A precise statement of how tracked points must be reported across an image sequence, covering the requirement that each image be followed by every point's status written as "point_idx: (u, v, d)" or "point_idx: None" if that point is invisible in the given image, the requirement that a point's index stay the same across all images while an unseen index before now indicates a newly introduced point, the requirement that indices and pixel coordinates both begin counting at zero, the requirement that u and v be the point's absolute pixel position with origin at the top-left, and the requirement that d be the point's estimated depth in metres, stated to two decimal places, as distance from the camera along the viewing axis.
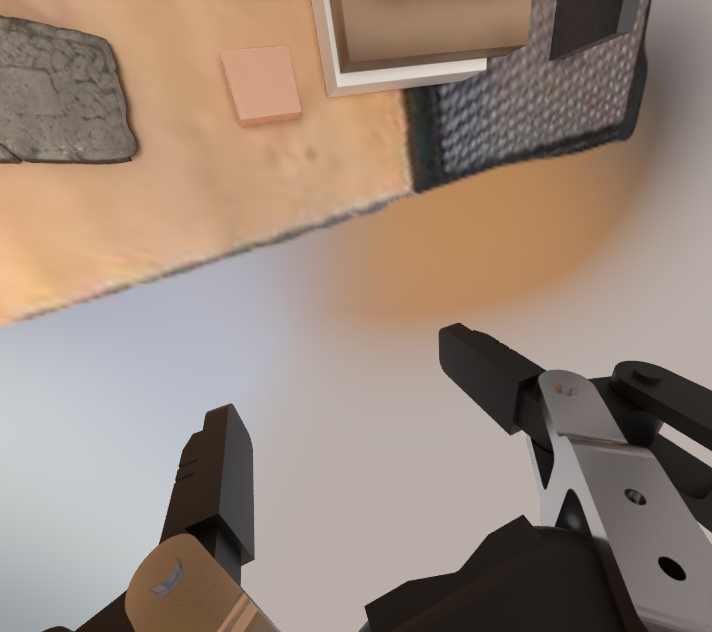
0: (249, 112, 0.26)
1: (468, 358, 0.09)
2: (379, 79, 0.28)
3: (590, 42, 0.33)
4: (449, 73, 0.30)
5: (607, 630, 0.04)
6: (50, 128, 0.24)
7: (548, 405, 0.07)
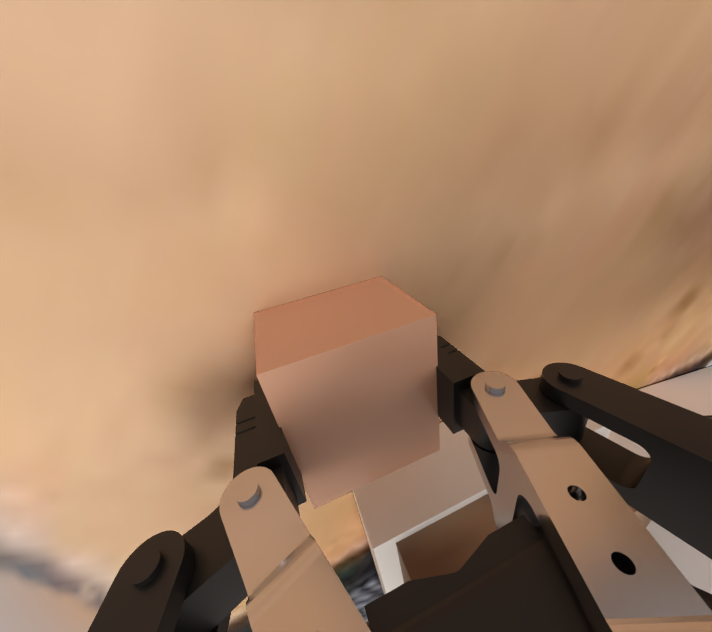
0: (287, 398, 0.07)
1: None
2: (390, 589, 0.14)
3: None
4: None
5: None
6: None
7: (484, 410, 0.07)
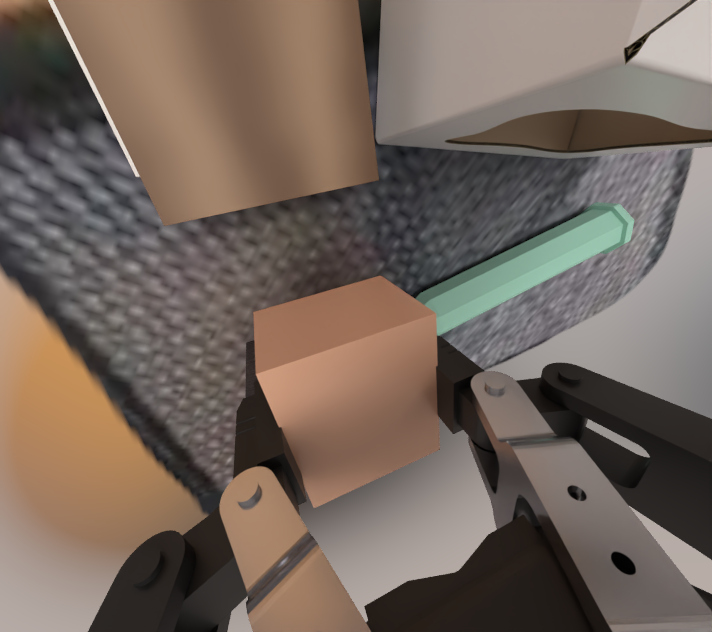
0: (287, 397, 0.07)
1: None
2: None
3: (247, 376, 0.21)
4: (80, 62, 0.13)
5: None
6: None
7: (484, 410, 0.07)
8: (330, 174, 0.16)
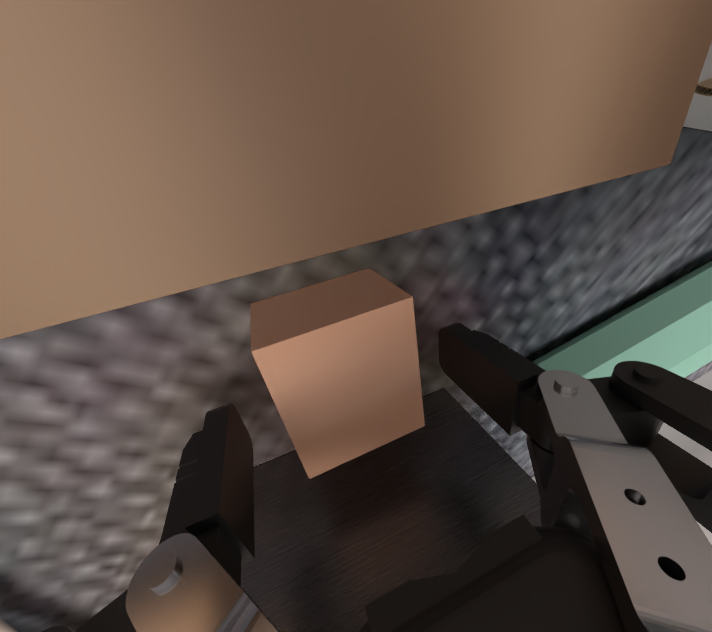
0: (280, 373, 0.08)
1: (468, 358, 0.09)
2: None
3: None
4: None
5: (607, 630, 0.04)
6: None
7: (548, 405, 0.07)
8: (555, 139, 0.04)
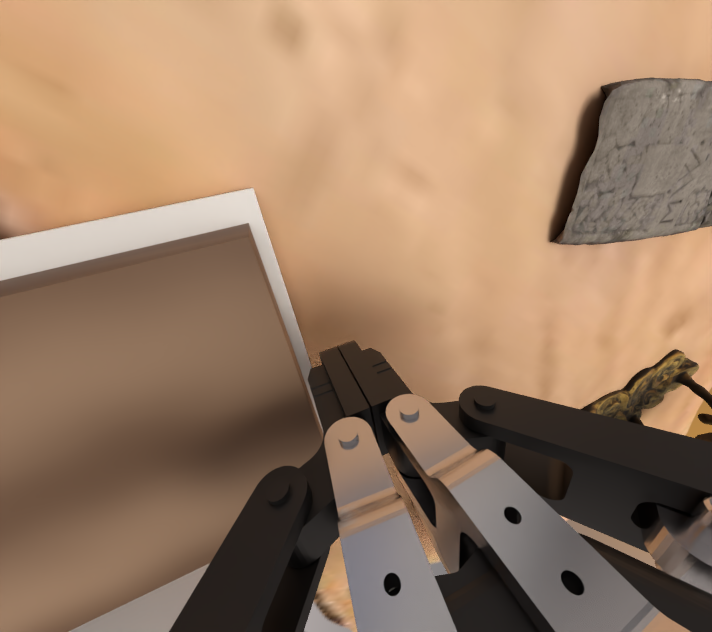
0: None
1: None
2: (96, 230, 0.08)
3: None
4: None
5: None
6: (670, 126, 0.17)
7: (406, 443, 0.06)
8: None
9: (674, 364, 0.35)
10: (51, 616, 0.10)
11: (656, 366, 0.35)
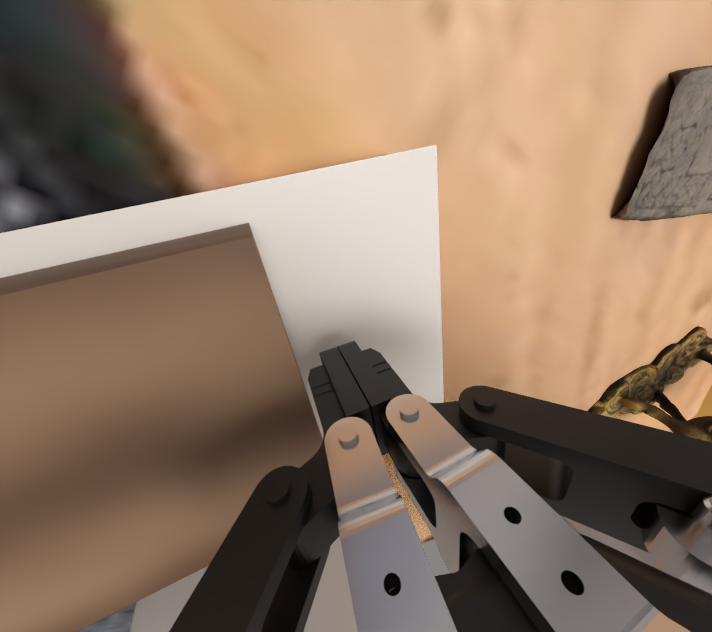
0: None
1: None
2: (322, 176, 0.10)
3: None
4: (29, 229, 0.08)
5: None
6: None
7: (406, 443, 0.06)
8: None
9: (697, 340, 0.38)
10: (43, 624, 0.09)
11: (681, 342, 0.37)
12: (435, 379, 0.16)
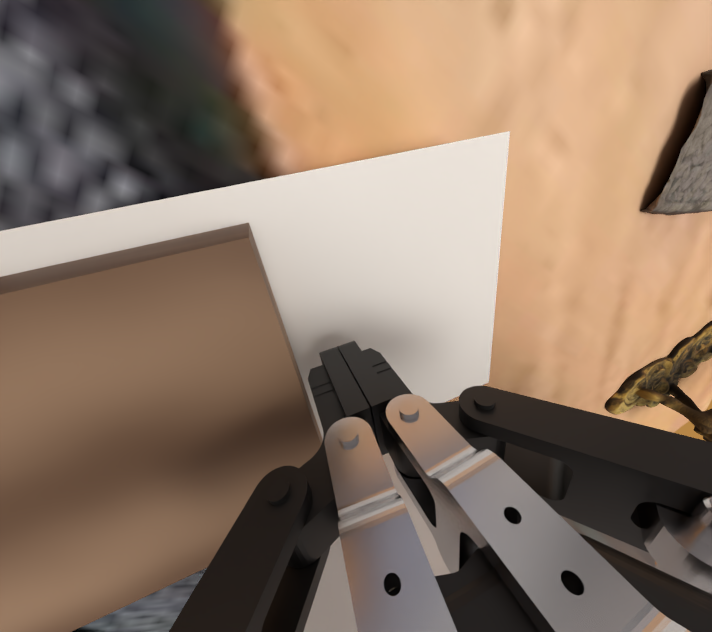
0: None
1: None
2: (411, 158, 0.10)
3: None
4: (168, 200, 0.08)
5: None
6: None
7: (406, 443, 0.06)
8: None
9: None
10: (41, 622, 0.09)
11: (696, 336, 0.38)
12: (484, 359, 0.17)
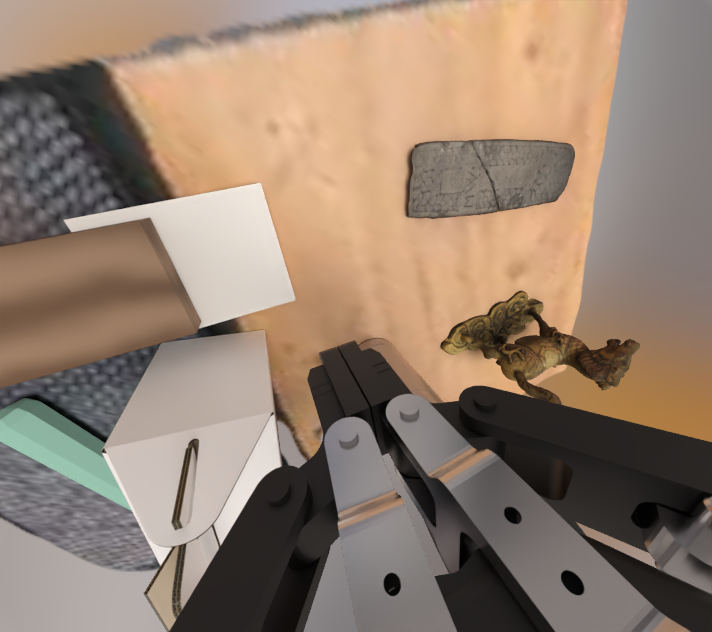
0: None
1: None
2: (215, 194, 0.28)
3: None
4: (123, 209, 0.26)
5: None
6: (450, 161, 0.38)
7: (406, 443, 0.06)
8: None
9: (520, 300, 0.55)
10: (78, 354, 0.27)
11: (508, 301, 0.55)
12: (287, 285, 0.35)
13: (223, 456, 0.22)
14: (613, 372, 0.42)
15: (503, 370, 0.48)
